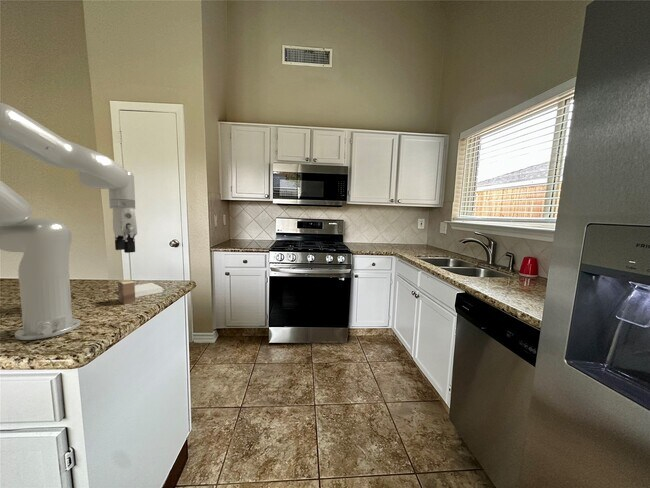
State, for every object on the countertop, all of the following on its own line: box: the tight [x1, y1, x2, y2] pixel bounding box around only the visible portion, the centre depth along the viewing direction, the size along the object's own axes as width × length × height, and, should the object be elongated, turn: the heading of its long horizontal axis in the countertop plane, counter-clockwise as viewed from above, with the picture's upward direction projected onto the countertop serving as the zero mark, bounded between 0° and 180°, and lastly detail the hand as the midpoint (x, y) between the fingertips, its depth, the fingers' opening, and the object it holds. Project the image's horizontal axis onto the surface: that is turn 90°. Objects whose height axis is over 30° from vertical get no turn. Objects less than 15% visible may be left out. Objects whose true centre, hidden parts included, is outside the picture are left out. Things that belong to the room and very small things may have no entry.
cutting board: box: [135, 282, 164, 298], centre depth 111 cm, size 12×12×2 cm
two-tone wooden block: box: [117, 278, 136, 305], centre depth 98 cm, size 6×4×8 cm, turn 53°
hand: (125, 251), depth 97 cm, fingers open, 9 cm apart
